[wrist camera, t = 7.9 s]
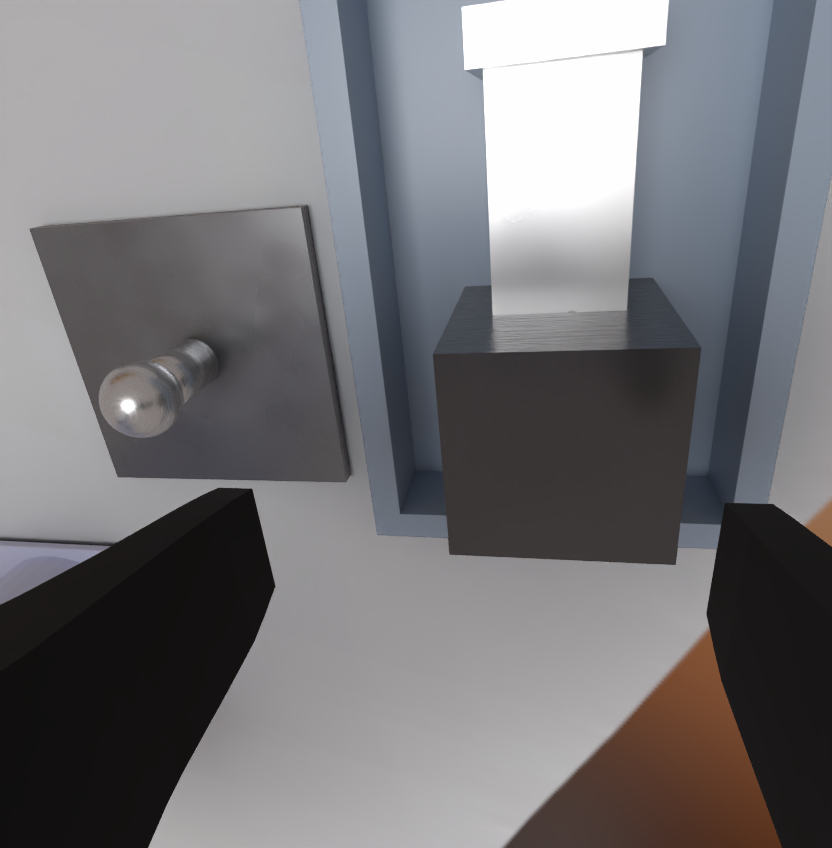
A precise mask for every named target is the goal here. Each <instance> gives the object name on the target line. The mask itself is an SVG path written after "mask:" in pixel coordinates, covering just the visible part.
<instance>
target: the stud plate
mask: <svg viewBox="0 0 832 848" xmlns="http://www.w3.org/2000/svg"><path fill="white" fill-rule="evenodd" d="M30 232H31V235H32V237H33V240H34V243H35V246H36V249H37V251H38V254H39V257H40V260H41V263H42V266H43V268H44V271H45V274H46V277H47V280H48V282H49V285H50V288H51V291H52V294H53V296H54V299H55V302H56V305H57V308H58V310H59V313H60V316H61V319H62V322H63V324H64V327H65V330H66V333H67V336H68V338H69V341H70V344H71V347H72V350H73V353H74V355H75V358H76V361H77V364H78V367H79V369H80V372H81V375H82V378H83V381H84V383H85V386H86V389H87V392H88V395H89V397H90V400H91V403H92V406H93V409H94V411H95V414H96V417H97V420H98V423H99V425H100V428H101V431H102V434H103V437H104V440H105V442H106V445H107V448H108V451H109V454H110V456H111V459H112V462H113V465H114V468H115V470H116V473H117V476H118V477H135V478H180V479H225V480H270V481H315V482H347V480H348V478H349V476H350V470H349V463H348V457H347V451H346V445H345V439H344V432H343V426H342V420H341V414H340V407H339V401H338V395H337V389H336V383H335V376H334V370H333V364H332V358H331V351H330V345H329V339H328V333H327V327H326V320H325V314H324V308H323V302H322V296H321V289H320V283H319V277H318V271H317V264H316V258H315V252H314V246H313V240H312V233H311V227H310V221H309V215H308V208H307V205H305V206H292V207H280V208H267V209H254V210H242V211H229V212H217V213H204V214H191V215H179V216H166V217H153V218H141V219H128V220H115V221H103V222H90V223H78V224H65V225H52V226H41V227H36V228H31V229H30Z"/></svg>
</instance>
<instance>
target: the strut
mask: <svg viewBox="0 0 832 848" xmlns="http://www.w3.org/2000/svg"><path fill="white" fill-rule="evenodd" d="M668 4H669V0H507V1H500V2H493V3H486V4H480V5H473V6H466V7H462V22H463V42H464V63H465V70H466V71H468V72H469V73H471V74H472V75H474V76H475V77H477V78H478V79H480V80H481V81H484V101H485V127H486V154H487V180H488V207H489V233H490V260H491V285H486V286H465V287H464V290H463V292H462V294H461V296H460V298H459V300H458V302H457V304H456V306H455V308H454V310H453V313H452V315H451V317H450V319H449V321H448V323H447V325H446V327H445V329H444V331H443V334H442V336H441V338H440V340H439V342H438V344H437V346H436V348H435V350H434V352H433V363H434V375H435V387H436V399H437V411H438V423H439V435H440V446H441V458H442V470H443V482H444V494H445V506H446V518H447V529H448V541H449V553H450V554H451V555H473V556H494V557H516V558H538V559H560V560H582V561H603V562H625V563H647V564H669V565H676V557H677V548H678V540H679V532H680V523H681V515H682V507H683V498H684V490H685V482H686V473H687V465H688V456H689V448H690V440H691V431H692V423H693V415H694V406H695V398H696V390H697V381H698V373H699V365H700V356H701V346H700V345H699V343H698V342H697V340H696V339H695V337H694V336H693V335H692V333H691V332H690V330H689V329H688V327H687V326H686V325H685V323H684V322H683V320H682V319H681V317H680V316H679V314H678V313H677V312H676V310H675V309H674V307H673V306H672V304H671V303H670V302H669V300H668V299H667V297H666V296H665V294H664V293H663V291H662V290H661V289H660V287H659V286H658V284H657V283H656V281H655V280H654V279H653V278H633V279H629V268H630V251H631V235H632V219H633V202H634V186H635V170H636V154H637V137H638V121H639V105H640V88H641V72H642V59H644V58H645V57H647V56H649V55H650V54H652V53H653V52H655V51H657V50H658V49H660V48H661V47H663V46H665V44H666V31H667V17H668Z"/></svg>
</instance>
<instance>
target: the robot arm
mask: <svg viewBox="0 0 832 848" xmlns="http://www.w3.org/2000/svg"><path fill="white" fill-rule="evenodd" d="M274 588H275V583H274V579H273V575H272V570H271V566H270V562H269V558H268V553H267V549H266V545H265V541H264V537H263V532H262V528H261V524H260V520H259V516H258V511H257V507H256V503H255V499H254V494H253V490H252V489H241V488H217V489H215V490H213V491H210V492H208V493H206V494H204V495H202V496H200V497H198V498H196V499H194V500H192V501H190V502H188V503H187V504H185V505H183V506H181V507H179V508H177V509H176V510H174V511H172V512H170V513H168V514H167V515H165V516H163V517H161V518H160V519H158V520H156V521H154V522H153V523H151V524H149V525H147V526H146V527H144V528H142V529H140V530H139V531H137V532H135V533H133V534H132V535H130V536H128V537H126V538H125V539H123V540H121V541H119V542H117V543H116V544H114V545H112V546H96V545H76V544H56V543H36V542H16V541H0V848H148V847H149V844H150V842H151V840H152V837H153V835H154V833H155V830H156V828H157V826H158V824H159V821H160V819H161V817H162V814H163V812H164V810H165V807H166V805H167V803H168V801H169V799H170V797H171V795H172V793H173V791H174V789H175V787H176V785H177V783H178V781H179V779H180V777H181V775H182V773H183V771H184V769H185V767H186V766H187V764H188V762H189V760H190V758H191V757H192V755H193V753H194V751H195V749H196V748H197V746H198V744H199V742H200V740H201V738H202V737H203V735H204V733H205V731H206V729H207V728H208V726H209V724H210V722H211V720H212V718H213V717H214V715H215V713H216V711H217V709H218V708H219V706H220V704H221V702H222V700H223V699H224V697H225V695H226V693H227V691H228V689H229V688H230V686H231V684H232V682H233V680H234V678H235V677H236V675H237V673H238V671H239V669H240V667H241V665H242V664H243V662H244V660H245V658H246V656H247V654H248V652H249V650H250V648H251V647H252V645H253V643H254V641H255V638H256V636H257V633H258V631H259V628H260V626H261V623H262V621H263V618H264V616H265V613H266V610H267V608H268V605H269V602H270V599H271V597H272V594H273V591H274ZM707 619H708V623H709V628H710V632H711V637H712V642H713V647H714V651H715V655H716V660H717V663H718V668H719V672H720V676H721V681H722V683H723V686H724V689H725V692H726V695H727V698H728V701H729V703H730V706H731V709H732V712H733V714H734V717H735V720H736V723H737V725H738V728H739V731H740V734H741V737H742V739H743V742H744V745H745V747H746V750H747V753H748V756H749V759H750V761H751V764H752V767H753V769H754V772H755V775H756V778H757V780H758V783H759V786H760V789H761V791H762V794H763V797H764V799H765V802H766V805H767V808H768V810H769V813H770V816H771V819H772V821H773V824H774V827H775V829H776V832H777V835H778V838H779V840H780V843H781V846H782V848H832V547H831V546H830V545H828V544H827V543H826V542H824V541H823V540H822V539H820V538H819V537H818V536H816V535H815V534H813V533H812V532H811V531H810V530H808V529H807V528H806V527H804V526H803V525H802V524H800V523H799V522H798V521H796V520H795V519H794V518H792V517H791V516H789V515H788V514H787V513H785V512H784V511H782V510H781V509H779V508H778V507H776V506H775V505H773V504H753V503H725V504H724V510H723V516H722V522H721V529H720V535H719V541H718V547H717V553H716V559H715V565H714V571H713V577H712V583H711V589H710V595H709V602H708V608H707Z"/></svg>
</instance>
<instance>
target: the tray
mask: <svg viewBox="0 0 832 848" xmlns="http://www.w3.org/2000/svg"><path fill="white" fill-rule="evenodd" d="M500 1H507V0H299V2H300V9H301V16H302V22H303V29H304V36H305V43H306V50H307V57H308V64H309V70H310V77H311V84H312V91H313V98H314V105H315V112H316V119H317V125H318V132H319V139H320V146H321V153H322V160H323V167H324V174H325V180H326V187H327V194H328V201H329V208H330V215H331V222H332V228H333V235H334V242H335V249H336V256H337V263H338V270H339V277H340V283H341V290H342V297H343V304H344V311H345V318H346V325H347V331H348V338H349V345H350V352H351V359H352V366H353V373H354V380H355V386H356V393H357V400H358V407H359V414H360V421H361V428H362V434H363V441H364V448H365V455H366V462H367V469H368V476H369V483H370V489H371V496H372V503H373V510H374V517H375V524H376V531H377V535H387V536H412V537H436V538H448V529H447V518H446V506H445V494H444V482H443V470H442V458H441V446H440V435H439V423H438V411H437V399H436V387H435V375H434V363H433V352H434V350H435V348H436V346H437V344H438V342H439V340H440V338H441V336H442V334H443V331H444V329H445V327H446V325H447V323H448V321H449V319H450V317H451V315H452V313H453V310H454V308H455V306H456V304H457V302H458V300H459V298H460V296H461V294H462V292H463V290H464V287H465V286H486V285H491V260H490V233H489V207H488V180H487V154H486V127H485V101H484V81H481V80H480V79H478V78H477V77H475V76H474V75H472V74H471V73H469V72H468V71H466V70H465V63H464V42H463V22H462V7H466V6H473V5H480V4H486V3H493V2H500ZM831 175H832V0H669V4H668V17H667V31H666V44H665V46H663V47H661V48H660V49H658V50H657V51H655V52H653V53H652V54H650V55H649V56H647V57H645V58H644V59H642V72H641V88H640V105H639V121H638V137H637V154H636V170H635V186H634V202H633V219H632V235H631V251H630V268H629V279H633V278H653V279H654V280H655V281H656V283H657V284H658V286H659V287H660V289H661V290H662V291H663V293H664V294H665V296H666V297H667V299H668V300H669V302H670V303H671V304H672V306H673V307H674V309H675V310H676V312H677V313H678V314H679V316H680V317H681V319H682V320H683V322H684V323H685V325H686V326H687V327H688V329H689V330H690V332H691V333H692V335H693V336H694V337H695V339H696V340H697V342H698V343H699V345H700V346H701V356H700V365H699V373H698V381H697V390H696V398H695V406H694V415H693V423H692V431H691V440H690V448H689V456H688V465H687V473H686V482H685V490H684V498H683V507H682V515H681V523H680V532H679V540H678V547H680V548H704V549H717V547H718V541H719V535H720V529H721V522H722V516H723V510H724V504H725V503H753V504H768V500H769V494H770V489H771V484H772V479H773V474H774V469H775V463H776V458H777V453H778V448H779V443H780V438H781V432H782V427H783V422H784V417H785V412H786V407H787V402H788V396H789V391H790V386H791V381H792V376H793V371H794V365H795V360H796V355H797V350H798V345H799V340H800V334H801V329H802V324H803V319H804V314H805V309H806V304H807V298H808V293H809V288H810V283H811V278H812V273H813V267H814V262H815V257H816V252H817V247H818V242H819V236H820V231H821V226H822V221H823V216H824V211H825V206H826V200H827V195H828V190H829V185H830V180H831Z"/></svg>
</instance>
